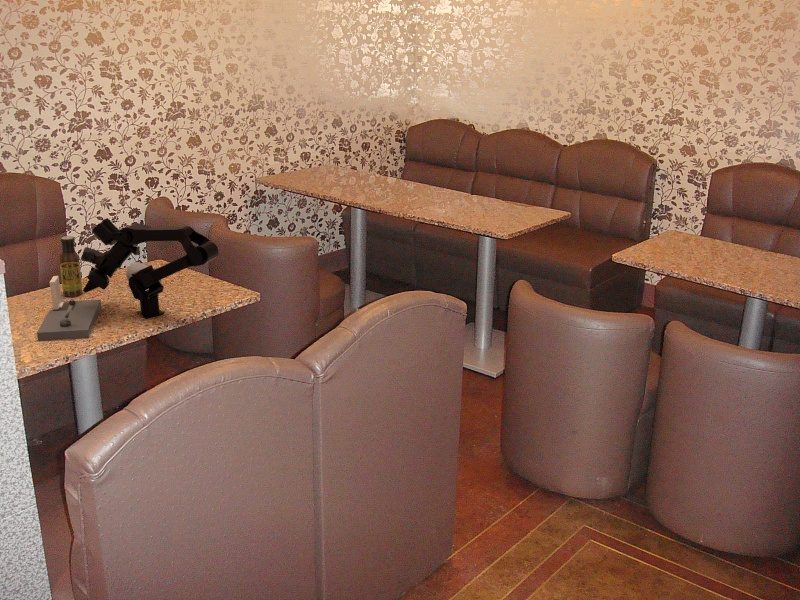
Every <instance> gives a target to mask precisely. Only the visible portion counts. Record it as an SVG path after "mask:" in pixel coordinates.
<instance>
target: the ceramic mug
mask: <svg viewBox="0 0 800 600" xmlns="http://www.w3.org/2000/svg"><path fill="white" fill-rule="evenodd" d="M148 266H149V265H147V264H145V263H141V262H139V261H134V262H132V263H130V264H129V266H128V267H127V269H126V273H125V274H126V278H127V281H128V282H129V278H130V277H132V275H131V274H133V273H135V272H137V271H139V270H141V269H143V268H146V267H148Z"/></svg>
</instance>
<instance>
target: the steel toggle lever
mask: <svg viewBox="0 0 800 600" xmlns="http://www.w3.org/2000/svg"><path fill="white" fill-rule="evenodd" d="M68 301H69V307H68V310H67V312H66V315H65V318H68V317H69V315H70V312H71V309H72V307H73V305H75V301H76V300H74V299H69V300H68Z"/></svg>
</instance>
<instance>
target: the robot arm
mask: <svg viewBox="0 0 800 600" xmlns="http://www.w3.org/2000/svg"><path fill="white" fill-rule="evenodd" d="M92 234H93V235H94V236H95V237H96V238H97V239H98V240H99V241H101V243H103V244H104V246H108V245H109V246H111V247H110V248H109V249H108V250H106V251H105V252H101V251H99V250H97V249H95V248H92V247H87V246H86V247H84V249H83V251H82V253H81V257H80V260H81V262H82V261H83V262H87V263H91V264H93V265H94V266H92V267H91V268H90V270H89V272H88V275H87V276H86V277H87V279H88V280H87V282H86V284H85V286H84V288H82V293H83V292H84V294H86V293H89V292H91V291H94V290H95V289H98V288H100V289H101V290H104V291H105V290H106V289H107V288H108V287H109V285H110V278H112V277H113V276H114V274H115V272H117V270H119V269H120V268H121V267H122V265H123V264H124V262H125V261H126V260H127V259H128V258H129V257H130V256H131V255H132V254H133V255H134V256H140V255H141V249H140V247H141V246H139V244H143V243H146V242H179V243H180V244H181V246H182V248H183V251H184V252H185V254H184V255H183V256H181V257H178V258H177V259H175V260H172V261H170V262H168V263H166V264H164V265H161V266H159V267H157V268H154V266H153V265H152V264H150V265H147V266H148V267H146V268H143V269H141V270H139V271H137V272H135V273H133V274H131V275H132V277H130V278H129V281H128V286H129V289H130V292H131V293H132V295H133V299H135V300H138V301H139V306H140V310H137V311H136V314H138V315H139V316H140V317H142V318H144V319H149V318H152V317H153V318H154V317H156V316H162V315H164V314H165V311H163V310H161V309H160V300H159V294H161V293H163V292H164V289H165V287H164V285H163V284H162V283H161V282H160V281H161V280H164V279H165V278H168V277H170V276H173V275H174V274H176V273H178V272H180V271H183V270H185V269H187V268H190V267H191V268H193V267H199V266H203V265H206V264H207V263H210V262H211V261H213V260H215V259H216V258H218V257H219V248H218V246H217V245H216V244H215V243H214V242H213V241H211V239H209V238H208V237H207V236H206V235H203V234H201V233H200V232H198V231H196V230H195V229H193V228H192V226H189V225H184V226H161V227H160V226H149V225H148V224H146V223H140V222H139V223H137V222H136V223H133V224H130V225H127V226H124V227H122V228H121V229H119V228H118V227H117V226H116V225H115V224H114V223H113V222H112V221H111V220H110V218H104V219H102V221H101V222H99V223H98V224H97V225H96V226H94V227H93V229H92ZM193 243H194V244H196V245H197V246H195V245H194V244H193Z"/></svg>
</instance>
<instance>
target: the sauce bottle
mask: <svg viewBox="0 0 800 600" xmlns="http://www.w3.org/2000/svg"><path fill="white" fill-rule="evenodd" d="M60 242H61V250H62V252H61V254H60V256H59V268H60V277H61V287H62V293H63V295H64V296H65V297H77V296H81V295H82V294H83V283H82V282H83V281H82V272H81V271H82V270H81V262H80V256H79V254H78V253H77V251H76V249H75V248H76V247H75V237H74V236H71V235H67V236H62V237H60Z"/></svg>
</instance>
